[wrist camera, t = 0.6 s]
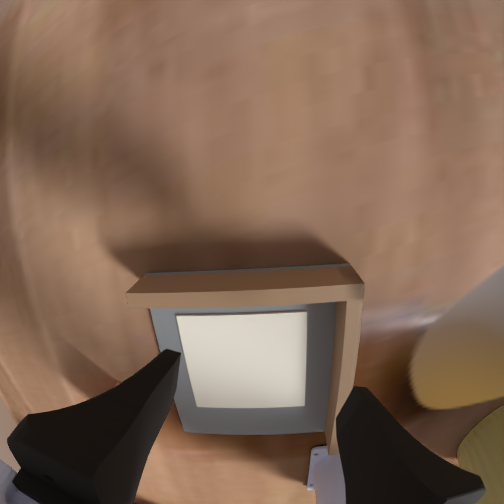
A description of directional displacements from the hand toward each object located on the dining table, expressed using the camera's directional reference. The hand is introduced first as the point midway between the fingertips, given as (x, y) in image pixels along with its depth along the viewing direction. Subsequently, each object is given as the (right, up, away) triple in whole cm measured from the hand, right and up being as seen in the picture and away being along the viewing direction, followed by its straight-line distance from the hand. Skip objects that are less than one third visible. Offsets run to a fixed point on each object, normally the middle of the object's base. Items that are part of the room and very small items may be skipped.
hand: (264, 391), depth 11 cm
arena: (0, -3, +11) cm, 12 cm away
